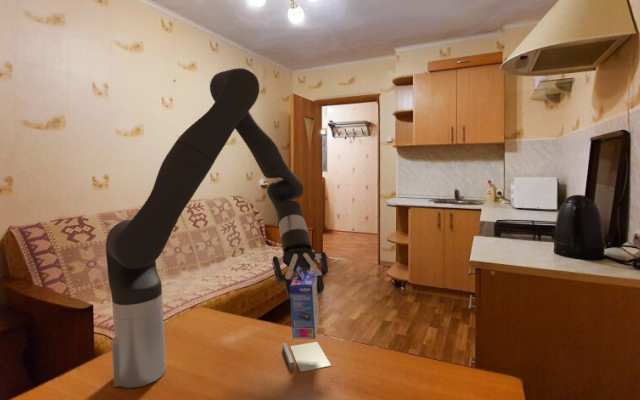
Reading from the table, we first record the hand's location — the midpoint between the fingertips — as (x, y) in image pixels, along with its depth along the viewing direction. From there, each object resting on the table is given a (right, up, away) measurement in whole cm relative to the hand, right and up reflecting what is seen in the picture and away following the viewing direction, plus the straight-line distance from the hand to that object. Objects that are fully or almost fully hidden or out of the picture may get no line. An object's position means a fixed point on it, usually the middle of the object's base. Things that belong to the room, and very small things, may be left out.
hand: (306, 294), depth 79 cm
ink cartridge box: (0, -8, -1) cm, 8 cm away
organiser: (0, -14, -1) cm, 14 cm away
